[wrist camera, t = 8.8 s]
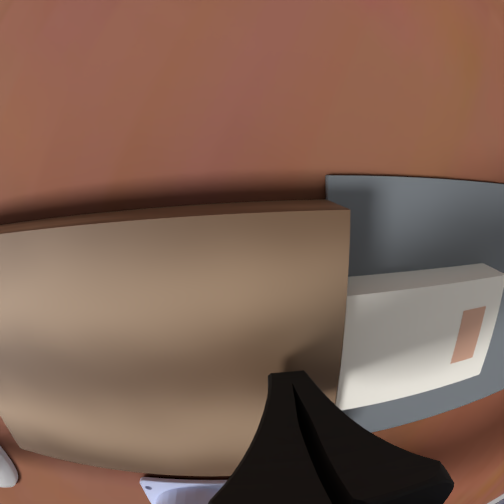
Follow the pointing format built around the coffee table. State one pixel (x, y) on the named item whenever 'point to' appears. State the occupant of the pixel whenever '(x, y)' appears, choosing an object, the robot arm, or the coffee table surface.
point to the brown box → (166, 328)
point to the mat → (424, 263)
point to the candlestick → (7, 470)
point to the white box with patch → (415, 331)
